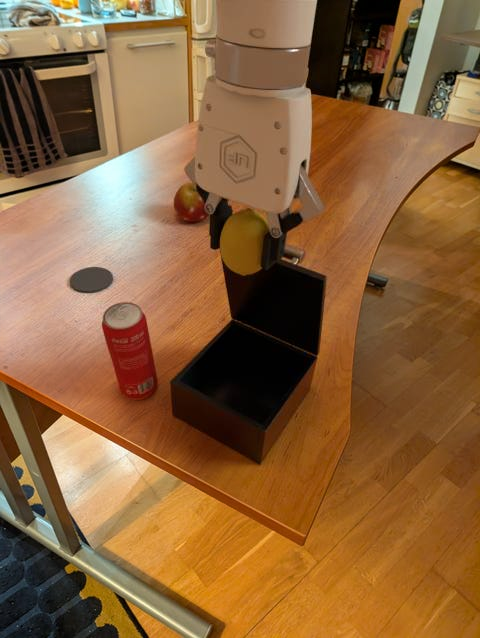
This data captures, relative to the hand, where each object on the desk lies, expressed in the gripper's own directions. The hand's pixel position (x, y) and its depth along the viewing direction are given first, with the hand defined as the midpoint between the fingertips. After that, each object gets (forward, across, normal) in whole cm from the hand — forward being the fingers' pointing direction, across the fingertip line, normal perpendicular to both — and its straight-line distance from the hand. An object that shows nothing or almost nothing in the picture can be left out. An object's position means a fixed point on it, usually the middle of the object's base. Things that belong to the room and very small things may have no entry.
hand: (245, 252), depth 49 cm
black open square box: (+27, 0, +3) cm, 27 cm away
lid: (+12, 0, +8) cm, 14 cm away
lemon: (+3, 0, 0) cm, 3 cm away
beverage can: (+28, -14, -4) cm, 31 cm away
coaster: (+27, -40, +12) cm, 50 cm away
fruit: (+27, -39, +44) cm, 64 cm away
